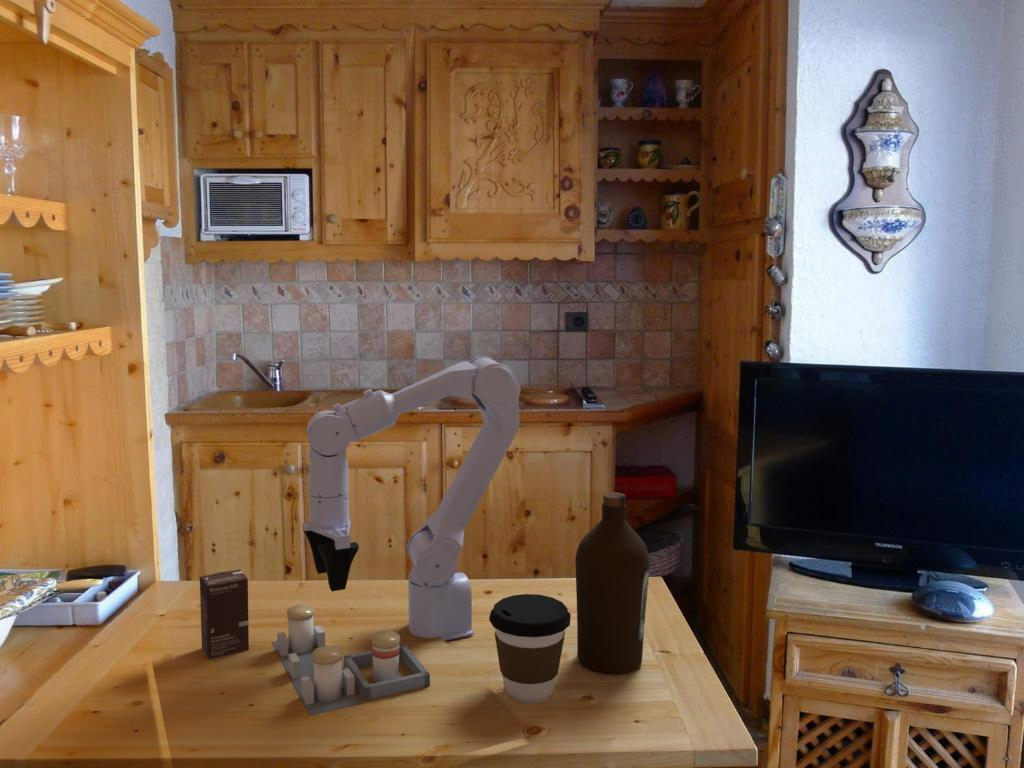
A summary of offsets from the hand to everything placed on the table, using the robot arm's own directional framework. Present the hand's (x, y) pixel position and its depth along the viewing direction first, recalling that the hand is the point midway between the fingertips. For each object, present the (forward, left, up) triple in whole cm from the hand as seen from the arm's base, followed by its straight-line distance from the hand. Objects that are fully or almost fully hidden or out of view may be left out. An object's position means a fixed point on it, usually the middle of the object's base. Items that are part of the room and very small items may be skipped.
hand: (330, 580), depth 130 cm
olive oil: (-35, +23, -10) cm, 43 cm away
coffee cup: (-20, +26, -10) cm, 34 cm away
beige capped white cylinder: (+5, +2, -9) cm, 10 cm away
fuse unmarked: (+5, +17, -9) cm, 19 cm away
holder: (+5, +9, -10) cm, 14 cm away
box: (+15, -3, -10) cm, 18 cm away
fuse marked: (-3, +15, -9) cm, 18 cm away
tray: (-4, +15, -10) cm, 18 cm away
